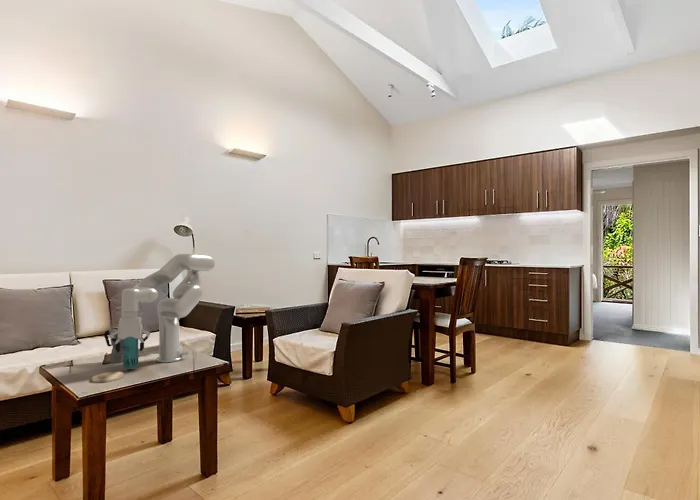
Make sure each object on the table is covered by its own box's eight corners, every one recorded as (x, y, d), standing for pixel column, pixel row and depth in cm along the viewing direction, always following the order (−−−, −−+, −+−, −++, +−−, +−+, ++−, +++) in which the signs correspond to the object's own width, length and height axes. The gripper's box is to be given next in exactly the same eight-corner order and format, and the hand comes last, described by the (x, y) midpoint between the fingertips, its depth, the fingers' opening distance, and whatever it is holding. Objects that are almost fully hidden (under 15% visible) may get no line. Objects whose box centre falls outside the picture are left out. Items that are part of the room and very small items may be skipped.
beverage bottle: (128, 368, 198) (127, 326, 198) (141, 368, 198) (141, 326, 198) (120, 372, 192) (119, 329, 192) (134, 372, 191) (133, 328, 192)
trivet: (126, 373, 190) (126, 370, 190) (120, 380, 178) (120, 377, 178) (96, 375, 186) (96, 372, 186) (88, 383, 175) (88, 380, 175)
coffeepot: (137, 359, 215) (137, 324, 216) (125, 363, 206) (125, 327, 206) (110, 358, 218) (110, 324, 218) (97, 362, 208) (97, 327, 208)
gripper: (151, 313, 201) (151, 348, 201) (111, 314, 196) (111, 350, 195) (149, 315, 194) (148, 351, 193) (107, 316, 189) (107, 354, 188)
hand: (130, 351), depth 194 cm, fingers open, 9 cm apart
